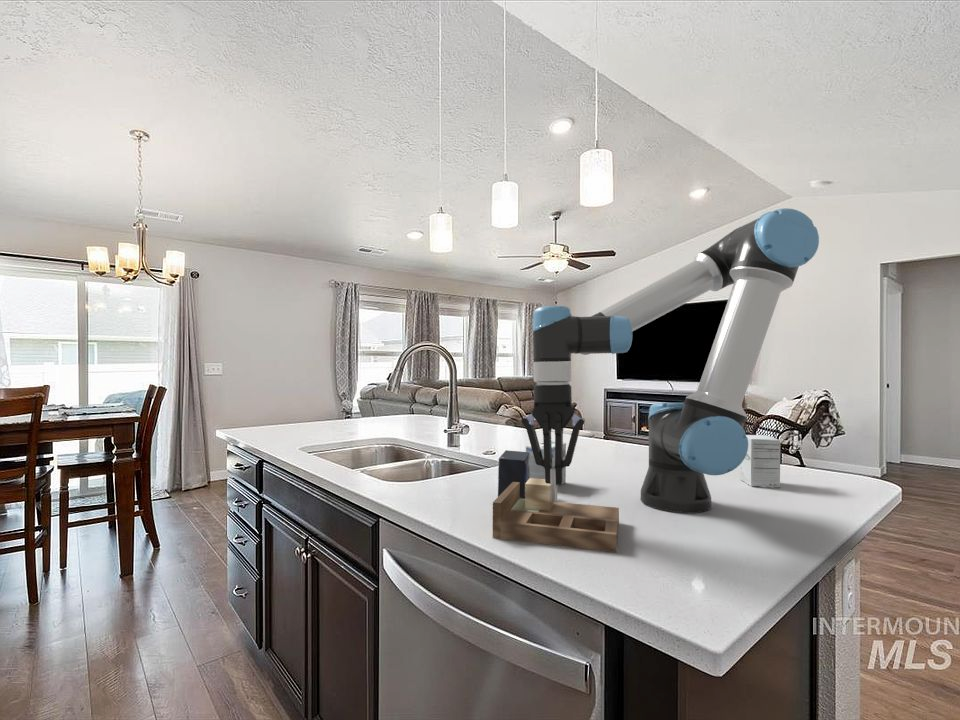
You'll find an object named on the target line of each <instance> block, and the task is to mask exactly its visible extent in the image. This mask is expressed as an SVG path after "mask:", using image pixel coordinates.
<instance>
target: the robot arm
mask: <svg viewBox="0 0 960 720" xmlns="http://www.w3.org/2000/svg"><path fill="white" fill-rule="evenodd" d="M819 244H820V236H819V232H818V229H817V227H816V226H815V225H814V223H813V220H812V219H811V218H810V217H809V215H807V214H805V213H804V212H802V211H800V210H797V209H793V208H788V207H787V208H779V209H776V210H773V211H768V212H765V213H764V214H762V215H760V216H759V217H758V218H756V219H754V220H752V221H749V222H748V223H746V224H743V225H742V226H739V227H736V229H733V230H732V231H731V232H729V233H727V234H726V235H725V236H723V237H722V238H720V239H719V240H718V241H716V242H715V243H713V244H712V245H711V246H709V247H707V248H706V249H704V250H703V251H701V252H699V253H697V254H696V255H695V256H694V258H693V261H691V262H689V263H688V264H686V265H684V266H682V267H680V268H678V269H677V270H674V271H673V272H671V273H669V274H667V275H665V276H664V277H661V278H660V279H658V280H656V281H654V282H652V283H651V284H649V285H647V286H645V287H643V288H641V289H639V290H637V291H636V292H634V293H631V294H630V295H628V296H626V297H624V298H623V299H621V300H619V301H617V302H615V303H613V304H611V305H610V306H607V307H606V308H604V309H602V310H601V311H599V312H597V313H595V314H593V315H591V316H575V315H572V313H571V309H570V307H568V306H565V305H547V306H546V305H545V306H540V307H538V308H537V307H536V309H535V310H534V311H533V316H532V320H533V321H532V322H533V323H532V347H533V348H532V351H533V362H532V363H533V365H532V366H533V381H534V382H535V383H536V384H534V385H533V406H532V407H533V408H532V409H531V413H530V414H529V415H528V416H524V417H523V418H521V420H520V421H521V424H522V425H523V427H524V428H525V430H526V432H527V437H528V440H529V443H530V445H531V448H532V451H533V455H534V458H535V462H536V464H537V465H540V466H543V467H544V468H545V482H546V483H549V484H551V502H554V503H556V502H558V486H557V485H559V486H561V485H563V484H562V481H563V478H562V469H563V468H564V467H566V468H567V467H569V466H571V464H572V461H573V457H574V454H575V450H576V446H577V442H578V437H579V434H580V431H581V428H582V427H583V426H584V425H585V423H586V420H585V418H584V417H581V416H578V415H577V414H576V413H575V409H574V407H573V405H572V404H573V403H572V401H573V400H572V397H573V395H572V385H571V384H569V382H571V381H572V354H575V355H576V354H580V355H585V356H586V355H591V354H595V355H596V354H598V355H599V354H612V355H614V354H624V353H628V351H629V350H630V348H631V346H632V342H633V332H634V331H637V330H638V329H640V328H641V327H643V326H645V325H647V324H649V323H651V322H653V321H655V320H656V319H659V318H660V317H662V316H665V315H666V314H667V313H670V312H672V311H674V310H675V309H677V308H679V307H682V306H683V305H685V304H687V303H689V302H690V301H692V300H694V299H696V298H698V297H700V296H701V295H704V294H705V293H707V292H709V291H711V292H719V291H721V290H722V289H724V288H726V287H728V286H731V285H732V288H731V291H730V293H729V297H728V299H727V303H726V304H725V309H724V311H723V314H722V317H721V320H720V323H719V325H718V328H717V332H716V334H715V338H714V339H713V343H712V345H711V349H710V352H709V354H708V357H707V361H706V363H705V366H704V370H703V372H702V375H701V378H700V381H699V384H698V386H697V389H696V391H695V392H693V393H691V394H689V395H687V396H686V397H685V398H684V402H658V403H653V404H651V406H650V407H649V411H648V413H649V414H648V416H647V417H648V418H647V420H648V469H647V471H646V473H645V476H644V477H645V478H644V480H643V483H642V486H641V489H640V501H641V503H643V504H644V505H645V506H648V507H650V508H653V509H658V510H661V511H667V512H674V513H691V514H692V513H693V514H695V513H702V512H707V511H709V510H711V509H712V495H711V493H710V492H711V491H710V489H709V486H708V483H707V480H706V477H705V475H708V476H709V475H710V476H721V475H725V474H728V473H730V472H732V471H734V470H735V469H737V468H738V467H739V466H741V463H742V461H743V460H744V458H745V456H746V454H747V451H748V438H747V437H746V435H747V434H746V431H745V430H744V426H745V423H746V420H747V416H748V415H747V414H746V411H745V410H744V408H743V402H744V400H745V396H746V394H747V390H748V387H749V384H750V382H751V379H752V375H753V373H754V370H755V367H756V364H757V361H758V359H759V355H760V352H761V350H762V347H763V344H764V342H765V338H766V336H767V332H768V330H769V326H770V324H771V321H772V318H773V315H774V313H775V310H776V307H777V303H778V301H779V299H780V295H781V293H782V292H783V291H786V290H788V289H790V288H792V286H793V285H794V283H795V282H794V281H795V278H796V276H797V273H798V270H799V267H801V266H803V265H806V264H808V262H809V261H811V260H812V259H813V258H814V256H815V255H816V253H817V252H818V249H819ZM571 420H572V423H571V424H572V427H573V428H572V431H571V434H570V439H569V443H568V446H567V448H566V457H565V460H563V443H564V429H565V428H566V427H567V425H568V424H569V422H570V421H571ZM535 421H536V422H537V424H538V425H539V426H540V428H541V429H542V436H543V439H542V440H543V441H544V459H543V456H542V452H541V449H540V445H539V443H540V442H539V439H538V435H537V431H536V428H535V426H534V425H535ZM552 430H554V442H555V467H552V464H553V463H552V445H551V441H552ZM543 441H542V442H543Z"/></svg>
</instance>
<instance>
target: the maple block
mask: <svg viewBox="0 0 960 720" xmlns="http://www.w3.org/2000/svg"><path fill="white" fill-rule="evenodd" d="M553 505H554V502H551V484H549V483H546V482H545V479H536V478H530V479H529V480H528V481H527V482H526V483H525V509H533V510H544V511H550V510H551V508H552V506H553Z"/></svg>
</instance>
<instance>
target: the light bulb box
mask: <svg viewBox="0 0 960 720" xmlns="http://www.w3.org/2000/svg"><path fill="white" fill-rule="evenodd" d="M539 445H540V449H541V452H542V456H543V459H544V441H540V442H539ZM551 445H552V463H553V464H552V467H555V441H552V440H551ZM525 452H529V456H530V466H529V479H530V478H536V479H545V468H544V467H543V466H540V465H537V464H536V462H535V458H534V455H533V451H532V448H531V444H530V445H526V446H525ZM566 453H567V443H566V442H563V460H565V457H566ZM566 468H567V467H564V468H563V469H562V478H563V481H562V484H561V485H563V484H565V483H566V481H567V480H566V477H567V474H566V473H567V472H566ZM559 486H560V485H557V487H559Z"/></svg>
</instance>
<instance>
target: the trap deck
mask: <svg viewBox="0 0 960 720" xmlns="http://www.w3.org/2000/svg"><path fill="white" fill-rule="evenodd" d="M619 523H620V508H619V507H614V506H604V505H602V506H601V505H591V504H582V503H573V502H572V503H570V502H560V501H559V502H558V501H556V503H554V505H553V506H552V508H551V510H550V511H544V510H533V509H525V499H520V482H512V483H511V484H510V485H509V486H508V487H507V488H506V489H505V490H504V491H503V492H502V493H501V494H500V495H499V497H498V496H497V497H496V498H495V499H494V501H492V538H493V539H502V540H509V541H510V540H511V541H519V542H527V543H535V544H545V545H550V546H551V545H553V546H561V547H567V548H570V547H571V548H578V549H587V550H593V551H594V550H596V551H603V552H610V553H611V552H612V553H617V548H618V538H619Z"/></svg>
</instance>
